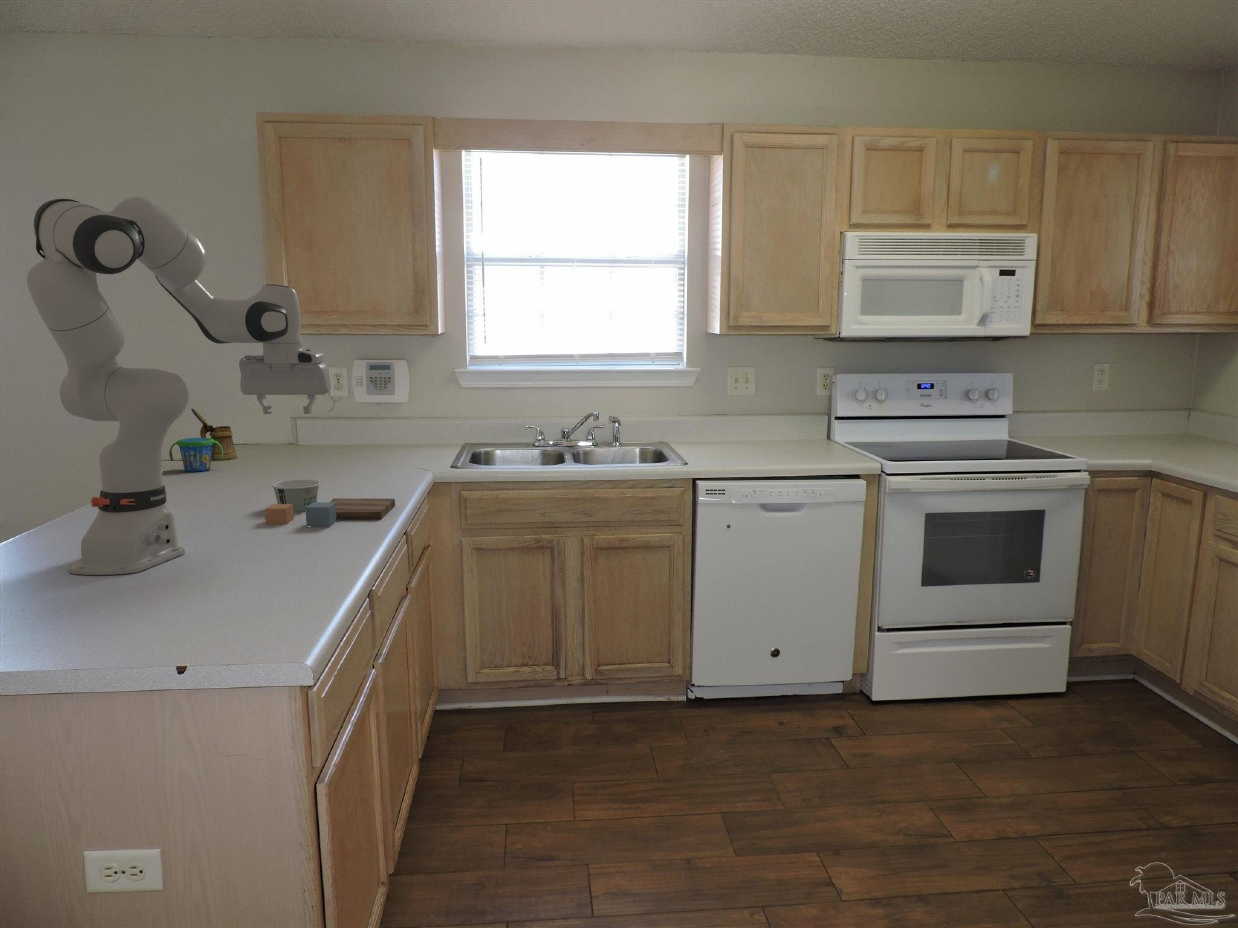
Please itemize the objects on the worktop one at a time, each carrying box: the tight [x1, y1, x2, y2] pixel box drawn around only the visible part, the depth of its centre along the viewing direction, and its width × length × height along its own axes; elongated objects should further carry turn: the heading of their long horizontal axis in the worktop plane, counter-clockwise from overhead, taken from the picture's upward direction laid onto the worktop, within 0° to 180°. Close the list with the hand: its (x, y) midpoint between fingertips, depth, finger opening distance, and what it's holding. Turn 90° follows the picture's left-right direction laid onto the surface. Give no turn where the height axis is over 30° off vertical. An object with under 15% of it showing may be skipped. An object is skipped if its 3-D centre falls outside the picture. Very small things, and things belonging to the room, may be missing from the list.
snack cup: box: [168, 437, 223, 473], centre depth 282 cm, size 16×10×10 cm
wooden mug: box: [191, 408, 238, 461], centre depth 304 cm, size 9×14×18 cm, turn 111°
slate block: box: [305, 501, 338, 528], centre depth 210 cm, size 6×6×5 cm
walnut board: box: [329, 498, 396, 521], centre depth 224 cm, size 16×16×2 cm
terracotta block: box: [264, 503, 295, 525], centre depth 213 cm, size 5×5×4 cm
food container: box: [271, 478, 321, 512], centre depth 229 cm, size 12×12×6 cm
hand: (287, 413), depth 207 cm, fingers open, 8 cm apart
